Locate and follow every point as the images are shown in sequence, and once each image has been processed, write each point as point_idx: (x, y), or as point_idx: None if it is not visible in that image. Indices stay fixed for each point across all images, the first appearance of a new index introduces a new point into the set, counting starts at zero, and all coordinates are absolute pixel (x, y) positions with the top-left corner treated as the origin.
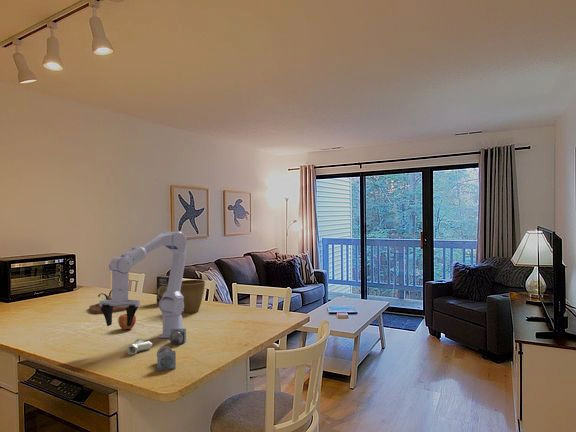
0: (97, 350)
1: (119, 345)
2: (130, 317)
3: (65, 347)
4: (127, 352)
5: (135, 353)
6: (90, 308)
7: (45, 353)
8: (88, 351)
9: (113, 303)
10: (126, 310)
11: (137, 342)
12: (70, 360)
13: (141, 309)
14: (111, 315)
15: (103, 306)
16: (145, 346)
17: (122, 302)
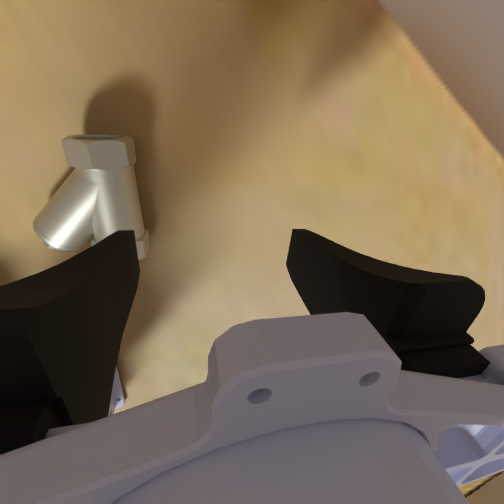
0: (306, 200)
1: (238, 259)
2: (60, 267)
3: (426, 229)
4: (128, 136)
5: (81, 135)
6: None
7: (482, 166)
8: (338, 187)
9: (351, 342)
10: (46, 299)
11: (97, 207)
12: (384, 65)
13: None
14: (315, 313)
15: (459, 348)
16: (50, 199)
17: (97, 473)
